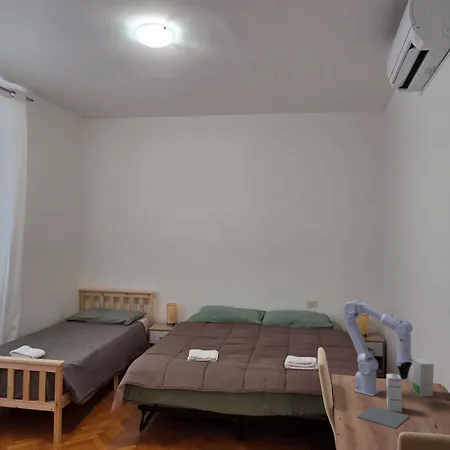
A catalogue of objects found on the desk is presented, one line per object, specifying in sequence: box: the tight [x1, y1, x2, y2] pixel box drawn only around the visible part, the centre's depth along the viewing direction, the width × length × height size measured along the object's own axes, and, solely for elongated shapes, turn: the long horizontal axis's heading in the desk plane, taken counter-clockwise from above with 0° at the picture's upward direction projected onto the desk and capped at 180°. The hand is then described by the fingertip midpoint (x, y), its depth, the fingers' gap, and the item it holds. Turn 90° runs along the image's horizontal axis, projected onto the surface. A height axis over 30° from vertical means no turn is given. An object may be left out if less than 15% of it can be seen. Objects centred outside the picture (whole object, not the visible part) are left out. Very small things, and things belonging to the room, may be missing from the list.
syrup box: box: [385, 373, 403, 413], centre depth 198 cm, size 6×6×14 cm
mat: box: [356, 405, 410, 429], centre depth 190 cm, size 16×15×1 cm
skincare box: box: [411, 357, 435, 397], centre depth 217 cm, size 8×7×16 cm
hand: (404, 378), depth 207 cm, fingers closed
